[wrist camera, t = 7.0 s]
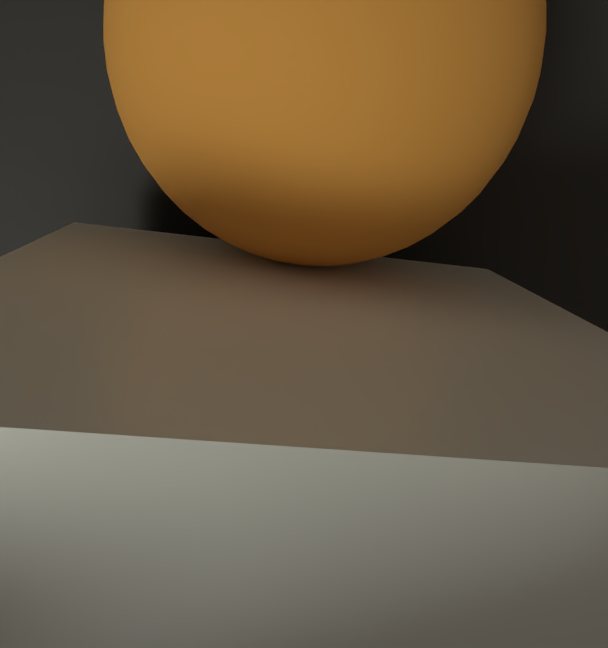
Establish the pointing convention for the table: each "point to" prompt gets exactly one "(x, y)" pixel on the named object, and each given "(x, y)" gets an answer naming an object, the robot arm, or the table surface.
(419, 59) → the ball
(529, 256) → the table surface
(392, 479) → the pale grey carton
